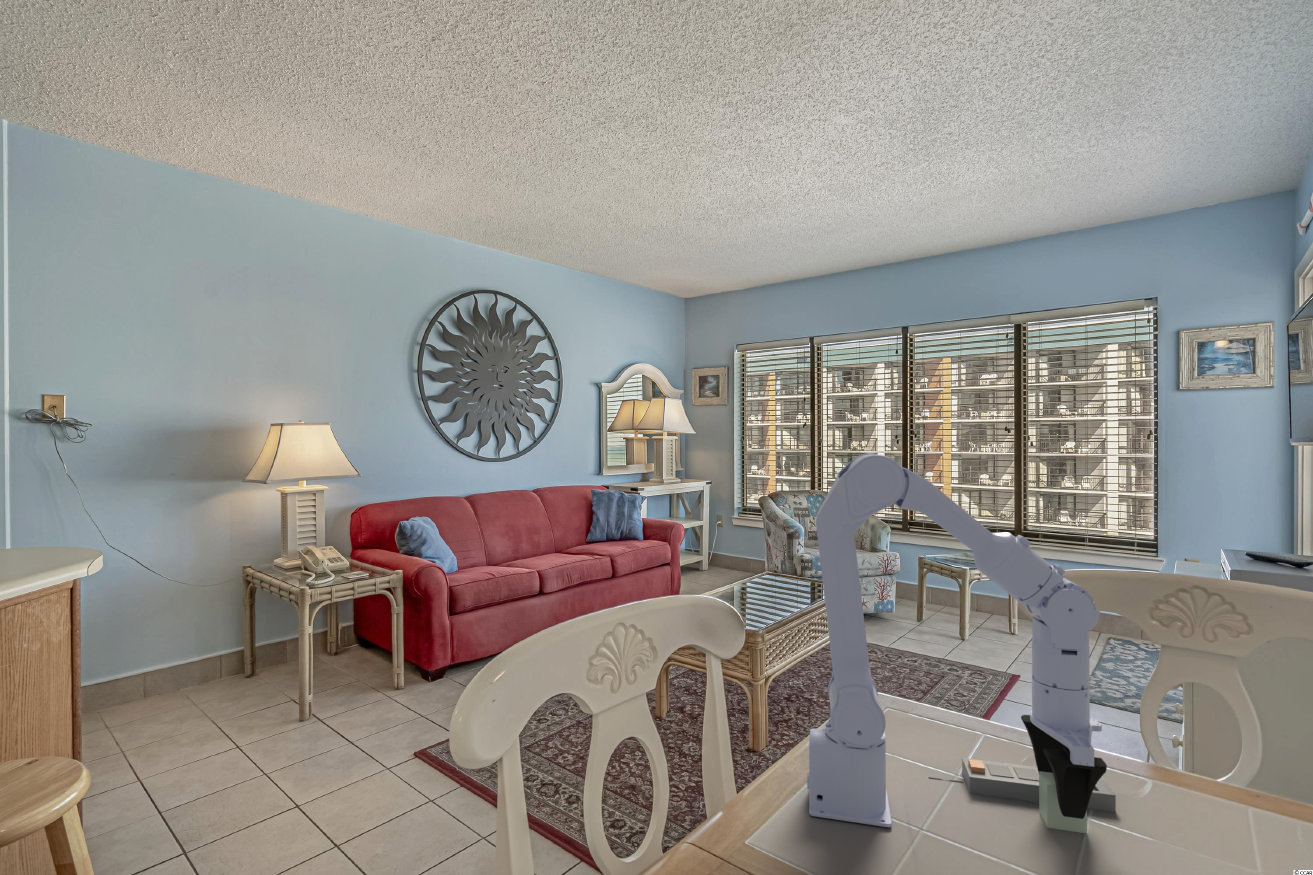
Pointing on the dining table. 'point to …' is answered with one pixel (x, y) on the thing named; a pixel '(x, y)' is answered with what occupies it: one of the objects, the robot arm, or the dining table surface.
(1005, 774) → the power strip
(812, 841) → the dining table surface
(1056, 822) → the charger
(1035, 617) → the robot arm
